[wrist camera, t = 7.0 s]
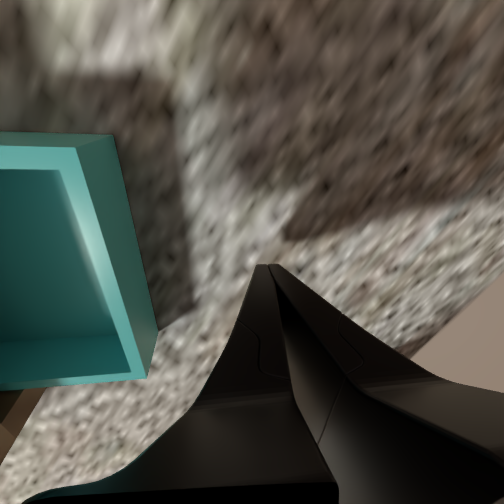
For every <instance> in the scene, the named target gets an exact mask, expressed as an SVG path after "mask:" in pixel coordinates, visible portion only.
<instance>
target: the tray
mask: <svg viewBox="0 0 504 504" xmlns="http://www.w3.org/2000/svg"><path fill="white" fill-rule="evenodd" d="M157 336H158V329H157V324H156V320H155V316H154V311H153V307H152V303H151V298H150V294H149V289H148V285H147V281H146V276H145V272H144V268H143V263H142V259H141V255H140V250H139V246H138V241H137V237H136V233H135V228H134V224H133V220H132V215H131V211H130V207H129V202H128V198H127V193H126V189H125V185H124V180H123V176H122V172H121V167H120V163H119V159H118V154H117V150H116V145H115V141H114V137H113V135H104V134H73V133H41V132H10V131H0V391H8V390H20V389H31V388H43V387H54V386H66V385H77V384H89V383H100V382H112V381H124V380H135V379H147V376H148V372H149V368H150V364H151V360H152V356H153V352H154V348H155V344H156V340H157Z"/></svg>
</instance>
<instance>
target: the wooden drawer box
mask: <svg viewBox="0 0 504 504" xmlns="http://www.w3.org/2000/svg"><path fill="white" fill-rule="evenodd" d="M46 388H47V387H43V388H31V389H20V390H8V391H0V465H1V463H2V462H3V460H4V458H5V457H6V455H7V453H8V452H9V450H10V448H11V447H12V445H13V443H14V442H15V440H16V438H17V436H18V435H19V433H20V431H21V430H22V428H23V426H24V425H25V423H26V421H27V420H28V418H29V416H30V415H31V413H32V411H33V409H34V408H35V406H36V404H37V403H38V401H39V399H40V398H41V396H42V394H43V393H44V391H45V389H46Z"/></svg>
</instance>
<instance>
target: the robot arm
mask: <svg viewBox="0 0 504 504" xmlns="http://www.w3.org/2000/svg"><path fill="white" fill-rule="evenodd" d="M22 504H504V393H501V392H496V391H491V390H487V389H482V388H477V387H473V386H468V385H463V384H459V383H455V382H452V381H449V380H446V379H443V378H441V377H438V376H436V375H434V374H432V373H430V372H429V371H427V370H425V369H424V368H422V367H421V366H419V365H417V364H416V363H414V362H413V361H411V360H410V359H408V358H407V357H405V356H404V355H402V354H401V353H399V352H397V351H396V350H394V349H393V348H391V347H390V346H388V345H387V344H385V343H384V342H382V341H381V340H379V339H378V338H376V337H375V336H373V335H372V334H370V333H369V332H367V331H366V330H364V329H363V328H362V327H360V326H359V325H358V324H356V323H355V322H353V321H352V320H351V319H350V318H348V317H347V316H346V315H344V314H342V313H341V312H340V311H339V310H338V309H336V308H335V307H334V306H333V305H331V304H330V303H329V302H327V301H326V300H325V299H323V298H322V297H321V296H320V295H318V294H317V293H316V292H314V291H313V290H312V289H310V288H309V287H308V286H307V285H305V284H304V283H303V282H301V281H300V280H299V279H297V278H296V277H295V276H294V275H292V274H291V273H290V272H288V271H287V270H286V269H284V268H283V267H282V266H281V265H279V264H268V265H266V264H258V265H256V267H255V270H254V272H253V275H252V278H251V281H250V284H249V286H248V289H247V292H246V295H245V298H244V300H243V303H242V306H241V309H240V312H239V314H238V317H237V320H236V322H235V325H234V328H233V330H232V333H231V335H230V338H229V340H228V342H227V344H226V346H225V348H224V350H223V352H222V354H221V356H220V358H219V360H218V362H217V363H216V365H215V367H214V369H213V371H212V372H211V374H210V376H209V378H208V380H207V381H206V383H205V385H204V387H203V389H202V390H201V392H200V394H199V395H198V397H197V399H196V400H195V402H194V403H193V404H192V406H191V407H190V408H189V410H188V411H187V412H186V413H185V414H184V415H183V416H182V417H181V418H180V419H178V420H177V421H176V422H175V423H174V424H173V425H172V426H171V427H170V428H169V429H168V430H166V431H165V432H164V433H163V434H162V435H161V436H160V437H159V438H158V439H157V440H155V441H154V442H153V443H152V444H151V445H150V446H149V447H148V448H147V449H146V450H145V451H143V452H142V453H141V454H140V455H139V456H138V457H137V458H136V459H135V460H134V461H132V462H131V463H130V464H129V465H127V466H126V467H125V468H123V469H122V470H120V471H118V472H116V473H115V474H113V475H111V476H109V477H106V478H104V479H102V480H99V481H96V482H92V483H87V484H82V485H74V486H67V487H61V488H55V489H50V490H47V491H44V492H41V493H38V494H36V495H34V496H32V497H30V498H28V499H26V500H25V501H24V502H23V503H22Z"/></svg>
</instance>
